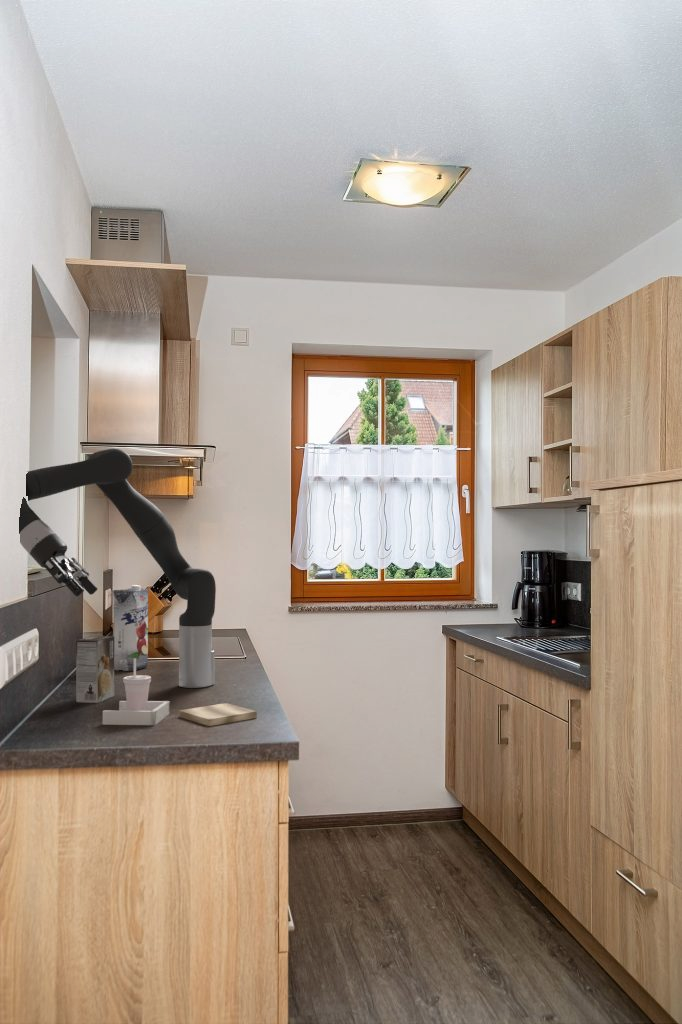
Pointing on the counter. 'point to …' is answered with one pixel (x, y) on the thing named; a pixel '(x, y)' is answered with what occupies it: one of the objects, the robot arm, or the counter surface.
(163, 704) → the frame
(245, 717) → the brass board
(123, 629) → the juice carton
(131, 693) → the smoothie
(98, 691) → the coffee box
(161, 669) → the counter surface
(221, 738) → the counter surface
